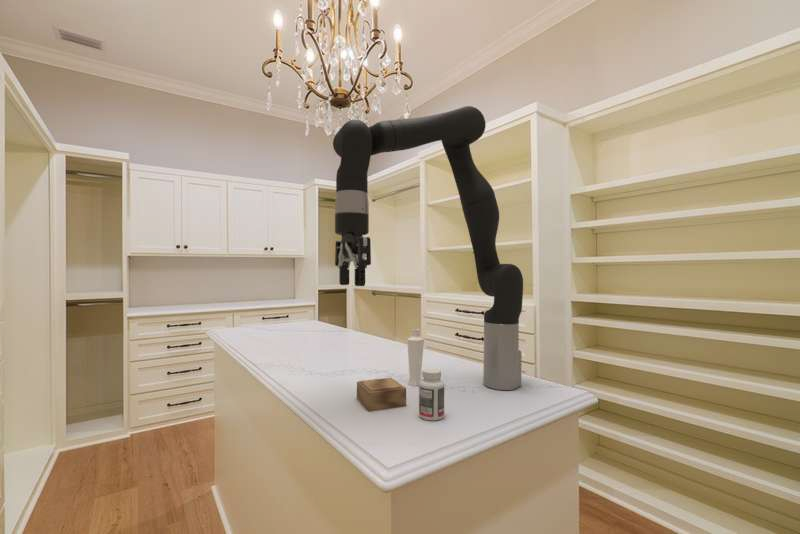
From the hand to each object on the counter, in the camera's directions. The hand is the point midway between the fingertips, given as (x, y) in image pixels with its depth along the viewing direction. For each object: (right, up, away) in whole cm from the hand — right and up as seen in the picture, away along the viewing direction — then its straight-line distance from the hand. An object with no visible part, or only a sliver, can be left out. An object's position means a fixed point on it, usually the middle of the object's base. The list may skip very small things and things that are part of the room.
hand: (351, 285), depth 82 cm
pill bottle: (+18, -28, -4) cm, 33 cm away
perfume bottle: (+15, -28, +19) cm, 37 cm away
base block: (+6, -28, +4) cm, 29 cm away
